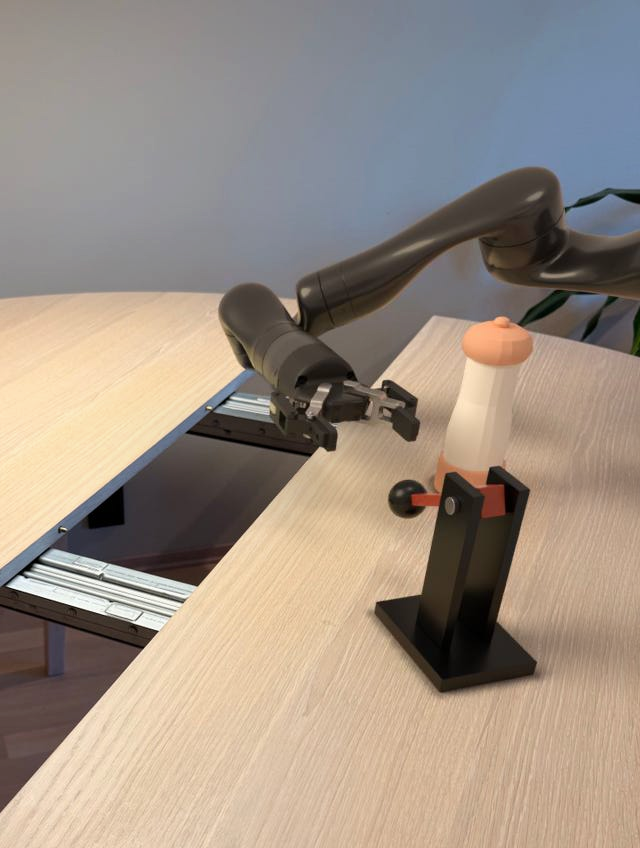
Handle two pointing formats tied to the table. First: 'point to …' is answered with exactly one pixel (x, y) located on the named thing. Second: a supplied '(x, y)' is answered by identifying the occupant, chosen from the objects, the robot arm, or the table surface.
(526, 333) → the salt shaker
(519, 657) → the bracket
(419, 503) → the lever
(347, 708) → the table surface
